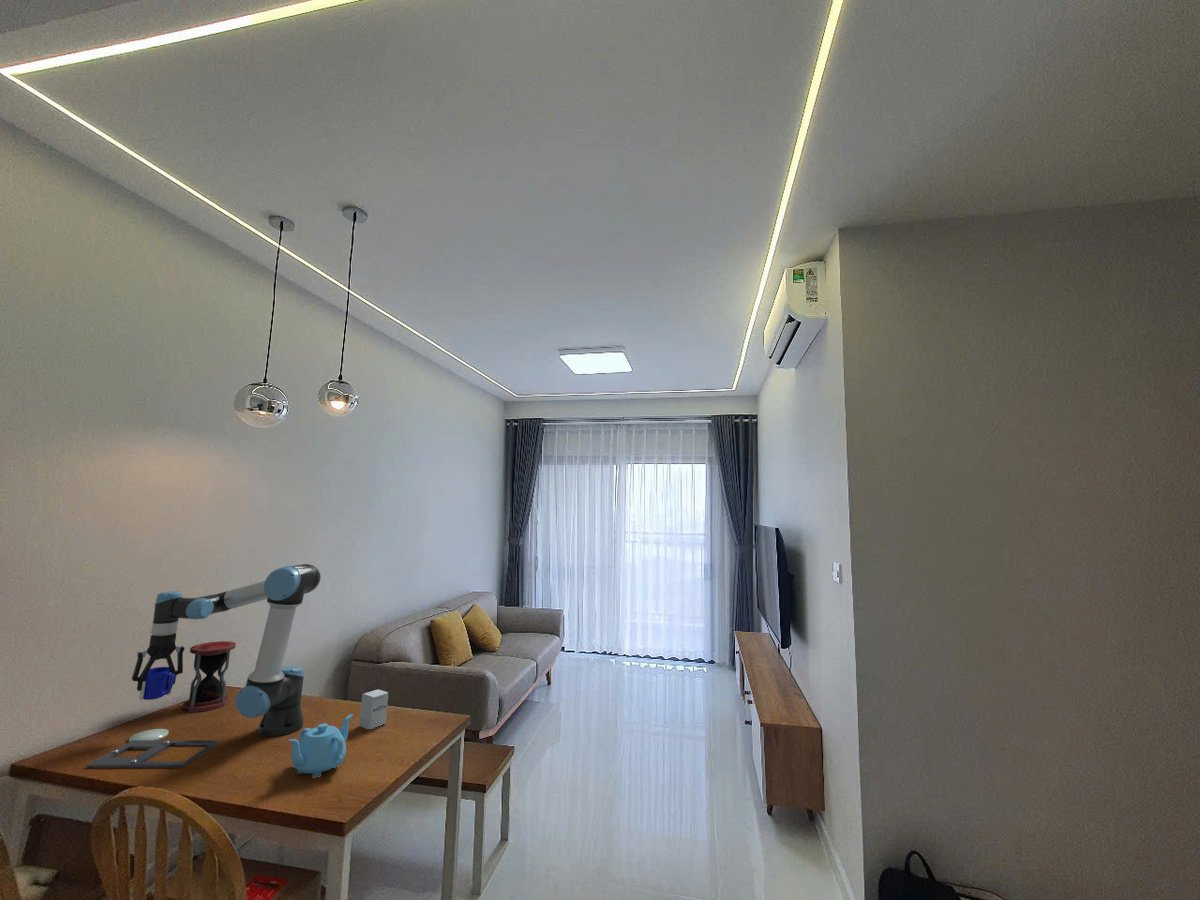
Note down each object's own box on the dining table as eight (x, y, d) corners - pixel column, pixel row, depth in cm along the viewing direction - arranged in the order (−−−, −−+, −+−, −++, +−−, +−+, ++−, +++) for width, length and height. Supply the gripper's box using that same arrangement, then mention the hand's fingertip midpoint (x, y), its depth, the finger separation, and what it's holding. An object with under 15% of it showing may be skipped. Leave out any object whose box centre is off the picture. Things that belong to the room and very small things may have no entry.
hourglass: (203, 697, 227) (210, 640, 230) (237, 699, 226) (244, 641, 229) (171, 711, 211) (180, 649, 214) (208, 713, 210) (216, 651, 213)
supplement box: (369, 731, 198) (372, 697, 200) (358, 726, 202) (361, 693, 204) (386, 724, 205) (389, 692, 206) (375, 720, 209) (377, 688, 210)
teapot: (282, 786, 157) (287, 739, 159) (298, 757, 175) (302, 715, 177) (340, 780, 162) (344, 734, 164) (349, 752, 180) (353, 711, 182)
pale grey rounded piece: (175, 731, 193) (176, 728, 193) (152, 743, 182) (153, 741, 182) (145, 730, 192) (145, 728, 192) (120, 743, 181) (120, 741, 181)
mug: (158, 703, 184) (162, 675, 185) (133, 700, 186) (136, 672, 188) (181, 696, 192) (184, 668, 193) (156, 692, 194) (160, 665, 196)
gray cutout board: (219, 743, 184) (219, 739, 184) (182, 767, 166) (183, 763, 166) (132, 743, 182) (132, 739, 182) (85, 768, 164) (86, 763, 164)
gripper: (194, 627, 202) (186, 688, 199) (127, 635, 187) (116, 700, 184) (198, 631, 197) (190, 692, 194) (130, 639, 182) (119, 706, 179)
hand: (154, 696), depth 189 cm, fingers closed on mug, 7 cm apart
